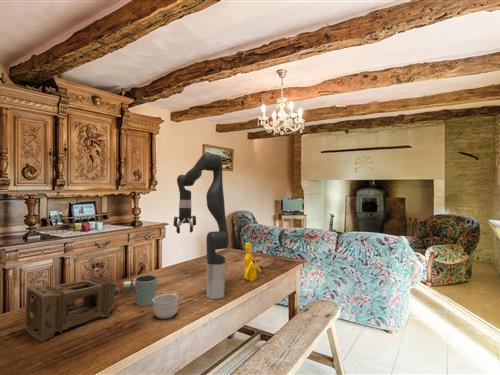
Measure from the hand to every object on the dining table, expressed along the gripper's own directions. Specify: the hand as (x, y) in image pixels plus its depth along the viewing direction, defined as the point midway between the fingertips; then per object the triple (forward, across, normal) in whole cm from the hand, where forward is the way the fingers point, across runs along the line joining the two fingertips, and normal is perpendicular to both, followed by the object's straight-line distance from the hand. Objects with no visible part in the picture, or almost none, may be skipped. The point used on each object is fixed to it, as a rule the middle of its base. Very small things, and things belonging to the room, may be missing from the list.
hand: (184, 232), depth 187 cm
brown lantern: (+27, -62, -29) cm, 73 cm away
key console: (+27, -31, -6) cm, 42 cm away
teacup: (+27, -31, -46) cm, 62 cm away
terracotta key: (+25, -32, -8) cm, 41 cm away
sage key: (+25, -36, -7) cm, 45 cm away
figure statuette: (+27, +29, -30) cm, 50 cm away
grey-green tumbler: (+27, -34, -28) cm, 52 cm away
